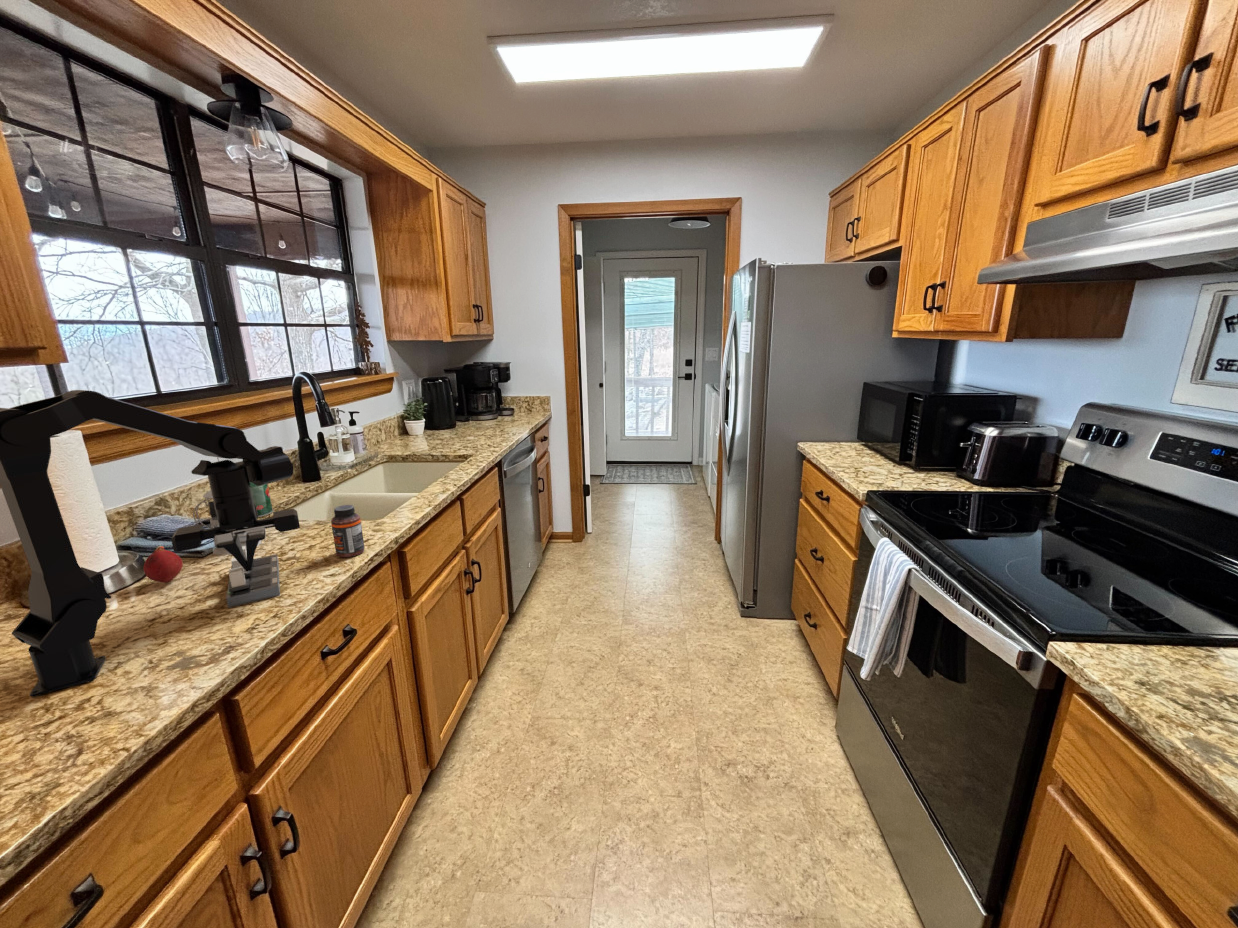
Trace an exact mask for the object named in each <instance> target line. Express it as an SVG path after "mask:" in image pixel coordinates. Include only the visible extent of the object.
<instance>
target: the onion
mask: <svg viewBox="0 0 1238 928" xmlns="http://www.w3.org/2000/svg"><path fill="white" fill-rule="evenodd" d="M183 566H184V564H183V560H182V558H181V556H179V555H178V554H177V553H176V552H174V551H170V550H167V549H165V547H164V546H162V545H159V546H158V547H156V548H155V550H154V551H153V552H152V553H151V554H149V556H148V557H147V558H146V560H145V561H144V564H143V572H144V574H145V576H146V578H148V579H149V580H151V581H154V582H158V583H164V584H169V583H171V582H172V581H173V580H174V579H175V578H176V577H177V576H178V575H179V574H180V573H181V572H182V569H183V568H184V567H183Z"/></svg>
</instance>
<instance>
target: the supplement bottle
mask: <svg viewBox="0 0 1238 928" xmlns="http://www.w3.org/2000/svg"><path fill="white" fill-rule="evenodd" d="M333 511H334V512H333V514H334V516H333V517H332V518H331V523H330V524H331V530H332V536H333V543H334V549H335V554H336V556H337V557H339V558H343V559H344V558H345V557H347V558H352V557H357V556H359V555H361V554H363V552H364V551H365V540H364V533H363V527H362V521H361V520H362V519H361V517H360V514H358V513H356V512H355V506H354V505H353V504H343V505H339V506H336V507H334V508H333ZM356 555H357V556H356Z"/></svg>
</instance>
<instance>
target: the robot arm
mask: <svg viewBox="0 0 1238 928" xmlns="http://www.w3.org/2000/svg"><path fill="white" fill-rule="evenodd" d="M90 420H92V421H97V422H100V423H105V424H108V425H112V426H116V427H120V428H124V429H128V430H131V431H135V432H139V433H143V434H147V435H150V436H153V437H154V436H155V437H159V438H162V439H166V440H170V441H173V442H174V443H177V444H179V445H181V446H182V447H184V448H186V449H189V450H190V451H193V452H195V453H198V454H200V455H202V456H205V457H213V458H217V457H218V458H219V459H223V460H219V461H218V460H217V461H215V462H214V461H213V462H211V461H210V460H205V459H202V460H199V463H198V464H197V465H196V466H195V467H194V468H193V469H191V471H190V472H191V474H192V475H195V476H196V475H197V476H204V477H205V476H207V479H208V483H209V487H210V490H211V492H212V497H213V499H212V500H213V501H209V506H208V508H209V509H208V510H209V515H210V518H211V519H212V518H217V519H218V523H219V527H214V526H213V528H205V526H203V525H202V524H201V523H200V524H199V525H197V524H195V525H187V526H183V527H178V528H177V529H176V530H175V531H174V533H173V535H172V537H171V545H172V548H173V553H179V552H183V551H190V550H194V549H197V548H199V546H200V545H201V544H202V541H206V540H211V539H213V538H215V540H216V541H217V544H216V547H217V548H224V549H226V550H227V551H228V552H229V553H230V554H229V555H231V556H233V558H234V557H235V559H236V560H237V561H238V562H239V563H240V565H241V566H242V567H243V568H244V569H245V571H251V570H252V564H253V559H255V558H254V557H255V553H256V549H257V547H258V546H259V545H258V542H259V541H260V540H261V541H263V540H265V539H266V529H270V528H271V529H272V528H275V529H274V530H276V531H278V532H279V533H284V532H289V531H294V530H298V529H300V528H301V525H300V520H299V514H298V510H296V509H295V508H287V509H283V510H278V511H273V512H272V517H266V518H262V519H258V518H259V517H258V513H257V509H256V505H255V503H254V501H253V497H252V492H251V488H250V483H249V482H252V483H253V484H255V485H257V486H261V485H265V484H272V483H276V482H280V481H283V480H287V479H290V478H292V476H293V474H294V464H293V462H292V461H291V459H290V457H289V455H288V454H286V453H285V452H284V450H283V449H284V448H283V446H277V445H275V446H270V447H268V448H267V447H266V448H265V449H260V450H259V449H257V448H256V447H255V446H254V445H253V444H252V443H250V442H249V441H248V440H247V437H246V435H245V432H244V431H243V430H242V429H240V428H238V427H234V426H229V425H228V426H227V425H223V424H222V425H221V424H216V423H215V424H214V423H207V422H200V421H199V422H198V421H192V420H187V419H183V418H180V417H178V416H173V415H169V414H167V413H163V412H160V411H158V410H157V411H156V410H153V409H150V408H146V407H143V406H140V405H138V404H133V403H130V402H126V401H123V400H120V399H116V398H114V397H113V398H112V397H111V396H110V397H109V396H106V395H105V394H102V393H100V392H98V391H94V390H89V389H88V390H87V389H85V390H84V389H75V390H74V389H73V390H68V391H66V392H64V393H61V394H59V395H56V396H52V397H47V398H43V399H39V400H36V401H31V402H27V403H23V404H20V405H16V406H12V407H8V408H7V407H6V408H5V407H0V488H1V490H2V494H3V496H4V499H5V502H6V505H7V508H8V511H9V513H10V515H11V518H12V521H13V523H14V524H13V525H14V527H15V529H16V531H17V534H18V537H19V541H20V543H21V545H22V549H23V551H24V554H25V556H26V559H27V562H28V564H29V567H30V570H31V571H30V572H31V576H30V581H29V586H28V589H27V591H28V593H27V594H28V606H29V611H28V613H27V614H26V615H25V616H24V617H23V619H22V620H21V621H20V622H19V624H18V625H17V626H16V627H15V628H14V629H13V630H12V632H11V635H12V636H13V637H14V638H16V639H17V640H18V641H19V642H20V643H23V644H26V645H28V646H29V647H28V653H29V656H30V658H31V661H32V664H33V667H34V670H35V672H36V673H35V674H36V676H37V678H38V679H37V680H38V681H37V683H36V684H35V685H34V687H33V688H32V689H31V691H30V693H29V696H30V697H31V698H34V697H38V696H41V695H42V696H43V695H45V694H48V693H49V694H50V693H52V692H53V693H54V692H56V691H60V690H63V689H67V688H70V687H74V686H77V685H82V684H86V683H89V682H92V681H94V680H96V679H97V676H98V675H99V673H100V671H101V669H102V667H103V665H104V663H105V661H106V659H107V657H106V656H105V655H100V656H97V657H95V653H94V651H93V647H92V644H91V640H93V639H95V637H96V636H95V635H96V632H97V631H96V630H97V626H98V621H99V620H100V618H101V617H102V616H103V615H104V614H105V613H106V610H107V608H108V607H107V599H111V598H112V596H111V595H110V594H109V593H108V592H107V590H106V588H105V578H104V575H103V573H101V572H98V571H95V570H93V569H89V568H85V567H82V566H80V565H79V563H78V561H77V558H76V555H75V551H74V549H73V545H72V543H71V539H70V537H69V534H68V531H67V527H66V525H65V522H64V519H63V515H62V513H61V509H60V508H59V507H60V506H59V505H58V502H57V499H56V496H55V493H54V490H53V486H52V484H51V480H50V478H49V475H48V472H49V471H48V469H49V464H50V460H51V457H52V455H51V454H52V444H51V437H54V436H57V435H59V434H63V433H64V432H67V431H69V430H71V429H74V428H75V427H78V426H80V425H82V424H84V423H85V422H87V421H90ZM231 459H232V460H233V459H238V460H241V461H237V462H233V461H232V460H231ZM244 527H246V528H244ZM233 529H235V530H233ZM227 530H229V531H227ZM244 532H246V534H247V536H246V552H247V559H246V556H245V554H244V551H243V549H242V546H241V543H240V540H239V536H238V534H239V533H244ZM257 545H258V546H257Z"/></svg>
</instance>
